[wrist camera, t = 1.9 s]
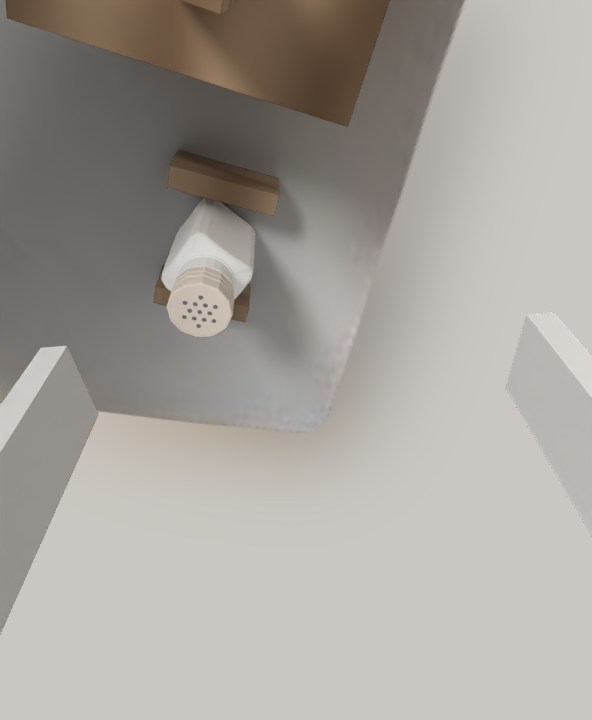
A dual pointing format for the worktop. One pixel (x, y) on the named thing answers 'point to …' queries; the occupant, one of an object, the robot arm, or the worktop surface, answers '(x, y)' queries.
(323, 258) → the worktop surface
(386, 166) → the worktop surface
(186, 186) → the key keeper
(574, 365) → the robot arm
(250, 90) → the wooden post stand
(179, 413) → the worktop surface
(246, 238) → the pepper shaker
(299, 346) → the worktop surface
